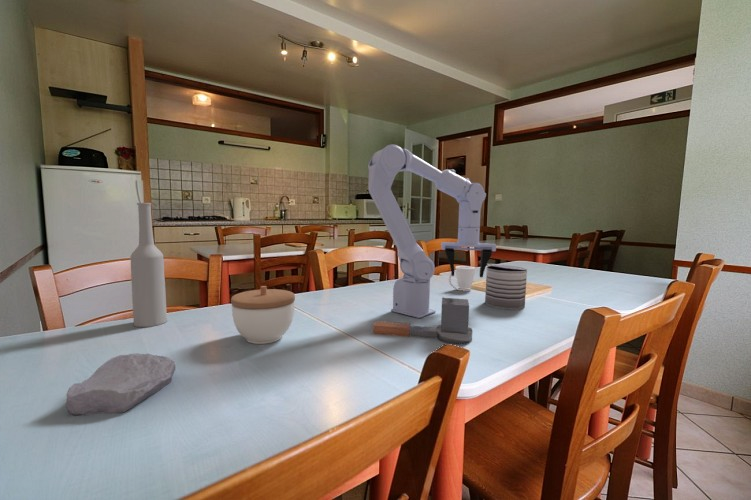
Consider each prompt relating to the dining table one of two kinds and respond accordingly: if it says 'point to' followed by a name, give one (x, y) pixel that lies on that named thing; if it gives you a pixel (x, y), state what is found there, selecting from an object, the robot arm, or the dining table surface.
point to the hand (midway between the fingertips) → (466, 276)
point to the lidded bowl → (263, 314)
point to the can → (505, 286)
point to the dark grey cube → (455, 315)
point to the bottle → (147, 275)
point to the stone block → (120, 384)
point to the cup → (464, 277)
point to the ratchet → (421, 332)
